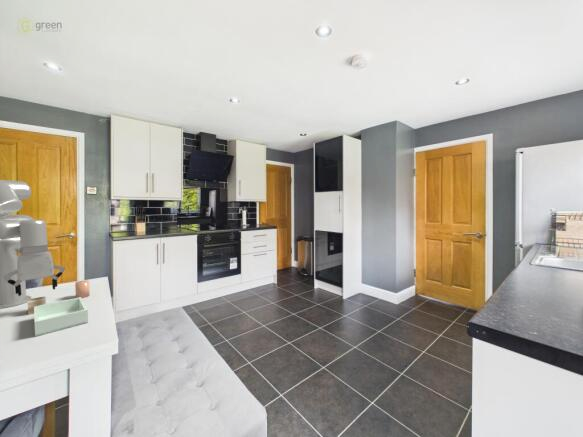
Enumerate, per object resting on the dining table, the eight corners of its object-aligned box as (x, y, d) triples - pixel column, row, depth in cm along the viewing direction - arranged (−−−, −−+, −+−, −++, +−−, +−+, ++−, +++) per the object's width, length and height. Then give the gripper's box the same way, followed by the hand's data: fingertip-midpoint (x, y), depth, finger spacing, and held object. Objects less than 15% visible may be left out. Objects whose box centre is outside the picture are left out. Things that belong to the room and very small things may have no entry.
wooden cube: (28, 315, 96) (27, 302, 96) (28, 311, 100) (27, 299, 100) (45, 311, 100) (45, 299, 100) (45, 307, 103) (44, 296, 103)
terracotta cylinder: (72, 297, 114) (72, 283, 114) (84, 294, 119) (83, 280, 119) (81, 298, 113) (80, 284, 113) (92, 295, 118) (91, 280, 118)
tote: (34, 319, 93) (34, 306, 93) (81, 308, 103) (80, 297, 102) (35, 336, 81) (34, 322, 81) (87, 322, 91) (87, 309, 91)
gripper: (0, 254, 90) (4, 300, 90) (64, 248, 102) (67, 288, 103) (2, 252, 95) (5, 295, 95) (63, 246, 107) (65, 284, 108)
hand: (37, 291), depth 99 cm, fingers open, 9 cm apart
